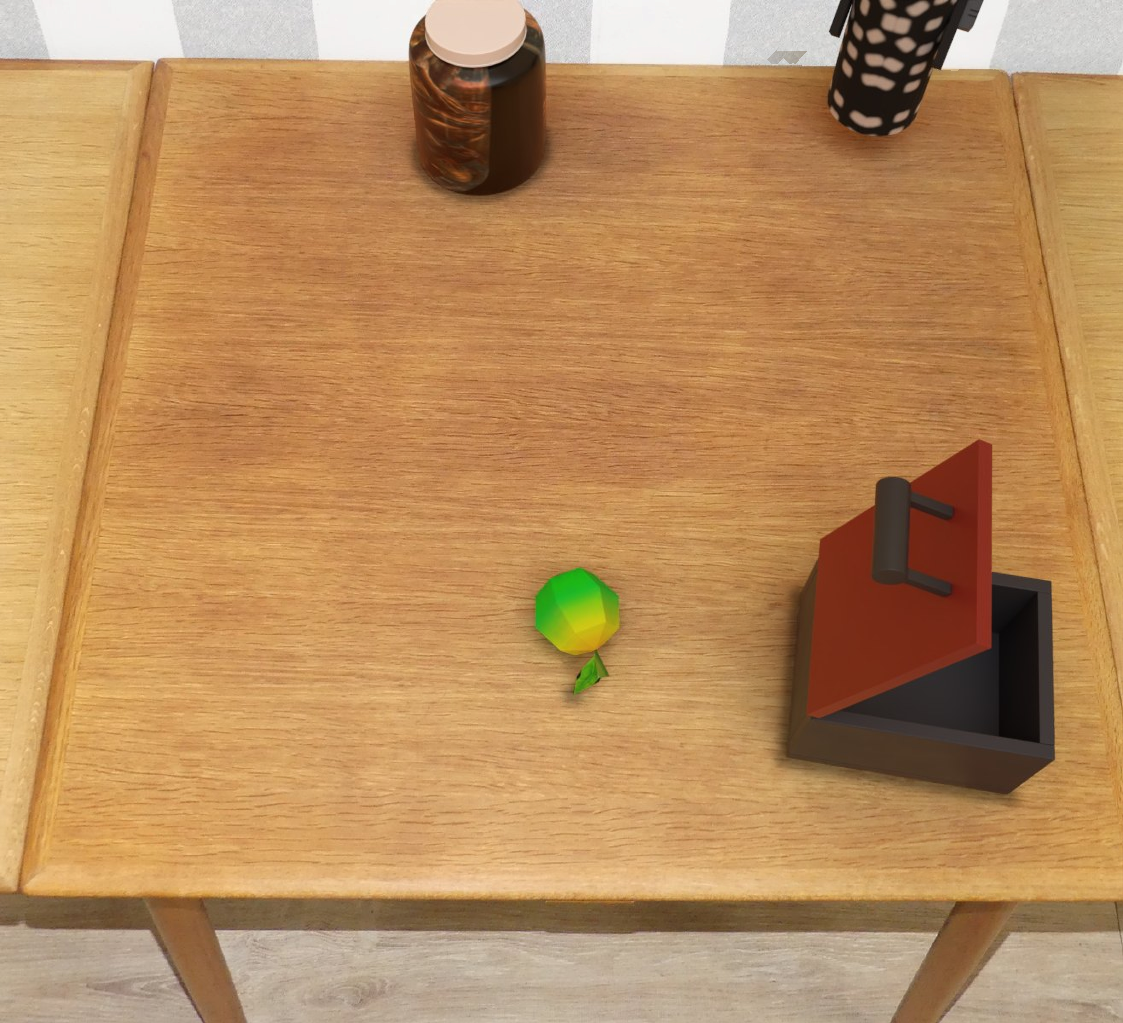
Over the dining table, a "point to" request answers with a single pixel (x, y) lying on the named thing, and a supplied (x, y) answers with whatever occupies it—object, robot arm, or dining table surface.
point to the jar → (478, 94)
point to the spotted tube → (886, 63)
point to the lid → (905, 584)
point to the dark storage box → (946, 704)
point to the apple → (578, 618)
